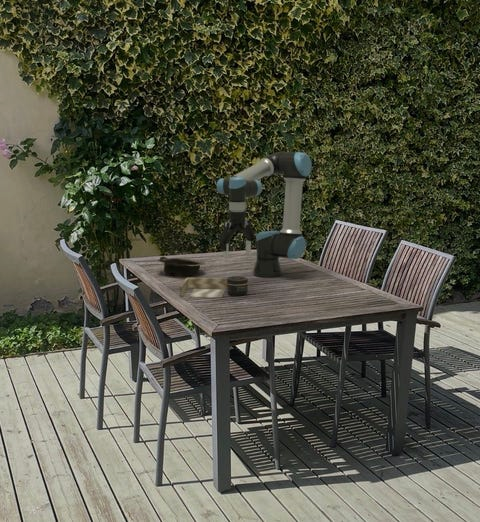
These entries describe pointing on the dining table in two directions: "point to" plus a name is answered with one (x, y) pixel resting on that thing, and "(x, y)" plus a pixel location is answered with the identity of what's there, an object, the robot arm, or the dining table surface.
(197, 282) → the arena
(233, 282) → the jar
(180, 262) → the stone bowl
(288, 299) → the dining table surface
